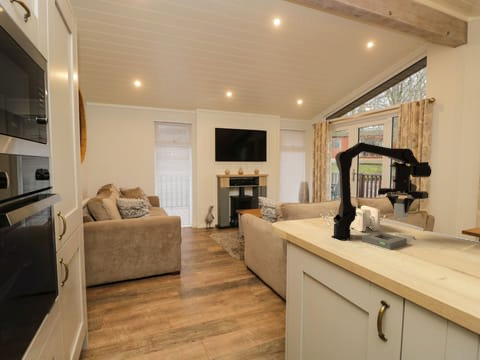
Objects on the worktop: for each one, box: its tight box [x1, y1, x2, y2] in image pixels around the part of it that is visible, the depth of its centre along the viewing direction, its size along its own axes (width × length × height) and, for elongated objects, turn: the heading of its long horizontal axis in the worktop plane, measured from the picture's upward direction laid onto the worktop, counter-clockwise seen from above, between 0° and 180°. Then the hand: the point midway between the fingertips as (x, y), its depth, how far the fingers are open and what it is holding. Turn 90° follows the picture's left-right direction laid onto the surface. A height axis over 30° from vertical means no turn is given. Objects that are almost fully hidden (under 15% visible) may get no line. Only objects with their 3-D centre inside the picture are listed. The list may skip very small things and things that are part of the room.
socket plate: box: [361, 231, 408, 251], centre depth 108 cm, size 12×12×3 cm
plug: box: [393, 197, 409, 219], centre depth 113 cm, size 4×4×8 cm
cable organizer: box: [350, 205, 381, 232], centre depth 131 cm, size 15×11×12 cm
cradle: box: [393, 231, 416, 242], centre depth 115 cm, size 8×8×2 cm
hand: (400, 212), depth 114 cm, fingers closed on plug, 4 cm apart
